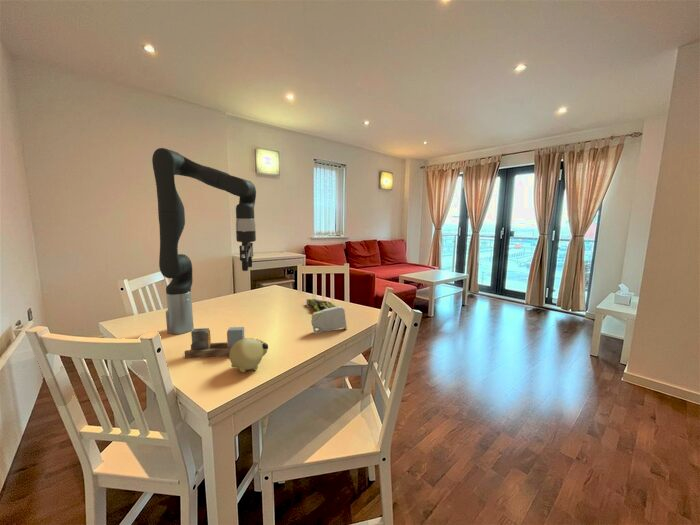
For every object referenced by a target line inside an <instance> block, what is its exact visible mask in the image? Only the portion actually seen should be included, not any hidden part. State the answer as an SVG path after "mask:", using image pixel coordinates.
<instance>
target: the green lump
mask: <svg viewBox="0 0 700 525" xmlns="http://www.w3.org/2000/svg"><path fill="white" fill-rule="evenodd" d="M306 304H307V305H311V307H313V308H314V310H316V312H318V311H322V309H321V308H319V306H320V307H323V308H324V309H328V308H332V307H337V306H336V305H335V304H334V303H333V302H330V301H328V300H323V299H322V300H320V299H316V298H314V299H310V298H308V299H306Z"/></svg>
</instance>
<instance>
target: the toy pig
mask: <svg viewBox="0 0 700 525" xmlns="http://www.w3.org/2000/svg"><path fill="white" fill-rule="evenodd" d="M268 349H269V344H268V343H266V342H265V341H264V340H262V339H258V338H256V339H255V338H254V337H247V338H245V337H244V339H242V340H239V341H238V342H236V343H235V344H234V345H233V346H232V347H231V349H230V353H229V361H230V363H231V364H230V366H231V367H232V368H235V369H238V370H239V371H240V372H241V373H245V372H246V371H248V370H254V371H257V370H258V368H259V364H260V363H261V361H262V360H263V359H262V358H263V357H264V356H265V355H266V354H267V353H268Z"/></svg>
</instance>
